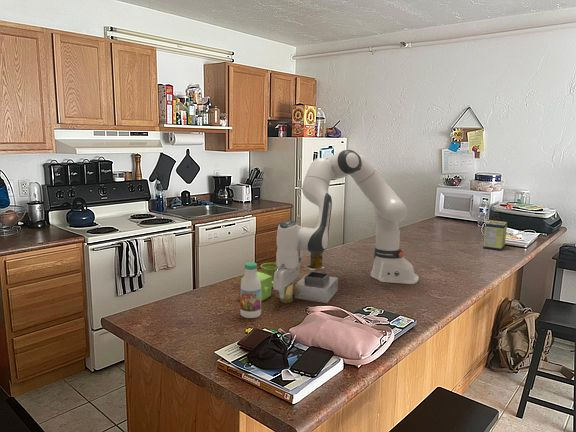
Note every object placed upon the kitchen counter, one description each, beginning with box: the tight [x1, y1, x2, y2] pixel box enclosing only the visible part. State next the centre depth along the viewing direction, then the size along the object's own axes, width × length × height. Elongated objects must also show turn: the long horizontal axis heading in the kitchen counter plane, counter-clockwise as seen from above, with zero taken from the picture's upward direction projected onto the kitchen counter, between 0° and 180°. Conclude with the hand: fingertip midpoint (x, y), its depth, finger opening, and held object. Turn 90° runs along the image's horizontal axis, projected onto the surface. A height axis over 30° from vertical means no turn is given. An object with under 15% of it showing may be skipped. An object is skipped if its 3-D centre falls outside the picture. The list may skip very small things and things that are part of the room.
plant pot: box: [260, 262, 278, 281], centre depth 205 cm, size 9×9×9 cm
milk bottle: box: [239, 261, 262, 319], centre depth 169 cm, size 8×8×20 cm
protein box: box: [482, 219, 508, 252], centre depth 279 cm, size 10×16×16 cm
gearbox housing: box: [294, 270, 339, 304], centre depth 193 cm, size 14×16×8 cm
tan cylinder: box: [280, 283, 294, 304], centre depth 185 cm, size 5×5×8 cm
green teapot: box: [240, 271, 274, 302], centre depth 187 cm, size 18×10×10 cm, turn 147°
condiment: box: [303, 251, 326, 271], centre depth 231 cm, size 7×8×12 cm
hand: (286, 293), depth 185 cm, fingers open, 7 cm apart
